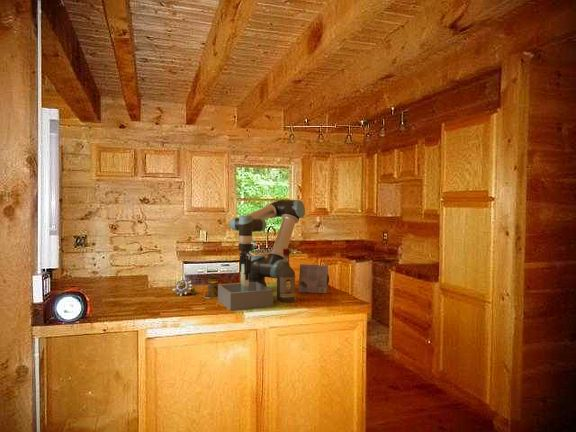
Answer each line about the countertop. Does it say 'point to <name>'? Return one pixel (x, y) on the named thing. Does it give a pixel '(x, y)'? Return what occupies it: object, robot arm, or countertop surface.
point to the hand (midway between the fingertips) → (244, 284)
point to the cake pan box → (313, 278)
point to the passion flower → (183, 287)
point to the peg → (243, 288)
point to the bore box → (245, 296)
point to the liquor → (286, 280)
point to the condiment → (212, 287)
